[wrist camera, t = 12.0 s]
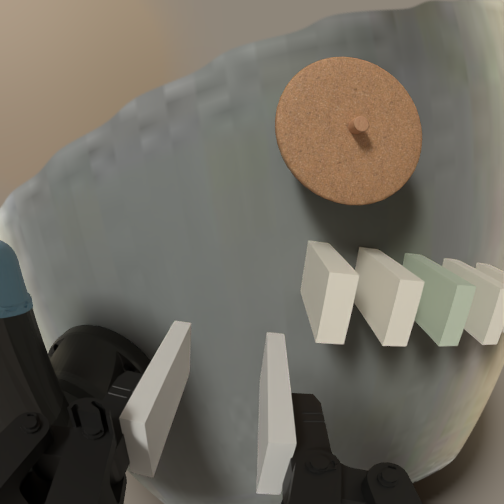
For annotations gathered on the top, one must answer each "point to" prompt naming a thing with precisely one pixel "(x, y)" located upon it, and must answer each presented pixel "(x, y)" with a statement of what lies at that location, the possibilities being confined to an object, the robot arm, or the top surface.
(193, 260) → the top surface
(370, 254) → the tile
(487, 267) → the tile
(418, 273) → the tile
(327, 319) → the tile
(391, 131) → the lidded jar
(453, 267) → the tile
